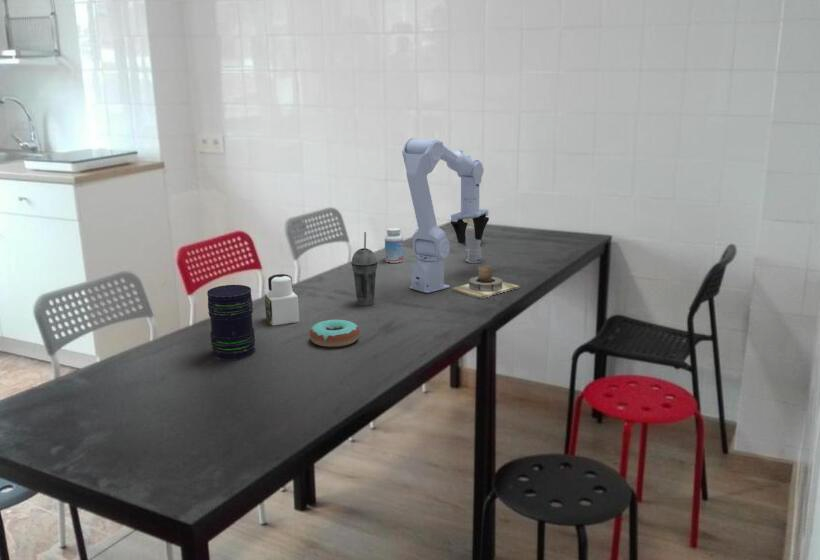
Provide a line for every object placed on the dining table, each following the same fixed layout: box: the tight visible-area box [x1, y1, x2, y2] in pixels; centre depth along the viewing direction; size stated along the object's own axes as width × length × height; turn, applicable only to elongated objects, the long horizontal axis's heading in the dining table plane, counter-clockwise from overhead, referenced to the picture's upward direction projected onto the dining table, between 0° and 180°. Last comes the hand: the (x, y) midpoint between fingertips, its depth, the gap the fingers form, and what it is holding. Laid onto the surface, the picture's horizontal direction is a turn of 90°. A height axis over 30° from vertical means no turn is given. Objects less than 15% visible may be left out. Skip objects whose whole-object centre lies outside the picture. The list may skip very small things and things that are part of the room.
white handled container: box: [264, 273, 300, 327], centre depth 196 cm, size 7×7×12 cm
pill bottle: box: [384, 227, 404, 264], centre depth 257 cm, size 6×6×11 cm
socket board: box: [451, 276, 520, 300], centre depth 223 cm, size 16×12×3 cm
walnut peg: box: [477, 264, 493, 283], centre depth 222 cm, size 4×4×6 cm
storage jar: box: [206, 284, 256, 361], centre depth 173 cm, size 10×10×15 cm
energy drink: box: [465, 225, 483, 264], centre depth 255 cm, size 5×5×12 cm
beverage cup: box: [350, 231, 378, 307], centre depth 209 cm, size 7×7×20 cm
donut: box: [309, 319, 360, 348], centre depth 182 cm, size 12×12×4 cm
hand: (469, 241), depth 239 cm, fingers open, 7 cm apart
